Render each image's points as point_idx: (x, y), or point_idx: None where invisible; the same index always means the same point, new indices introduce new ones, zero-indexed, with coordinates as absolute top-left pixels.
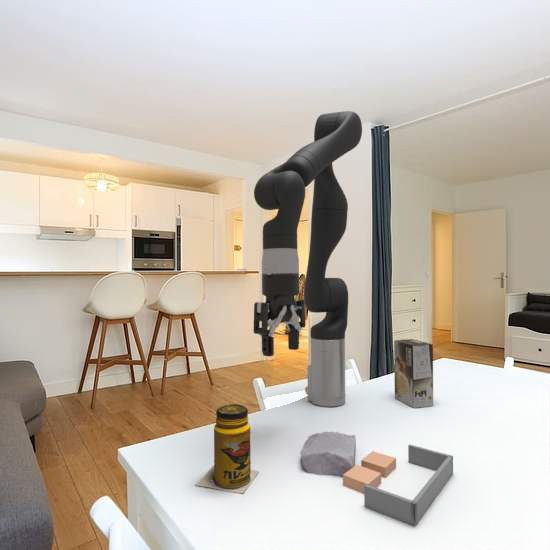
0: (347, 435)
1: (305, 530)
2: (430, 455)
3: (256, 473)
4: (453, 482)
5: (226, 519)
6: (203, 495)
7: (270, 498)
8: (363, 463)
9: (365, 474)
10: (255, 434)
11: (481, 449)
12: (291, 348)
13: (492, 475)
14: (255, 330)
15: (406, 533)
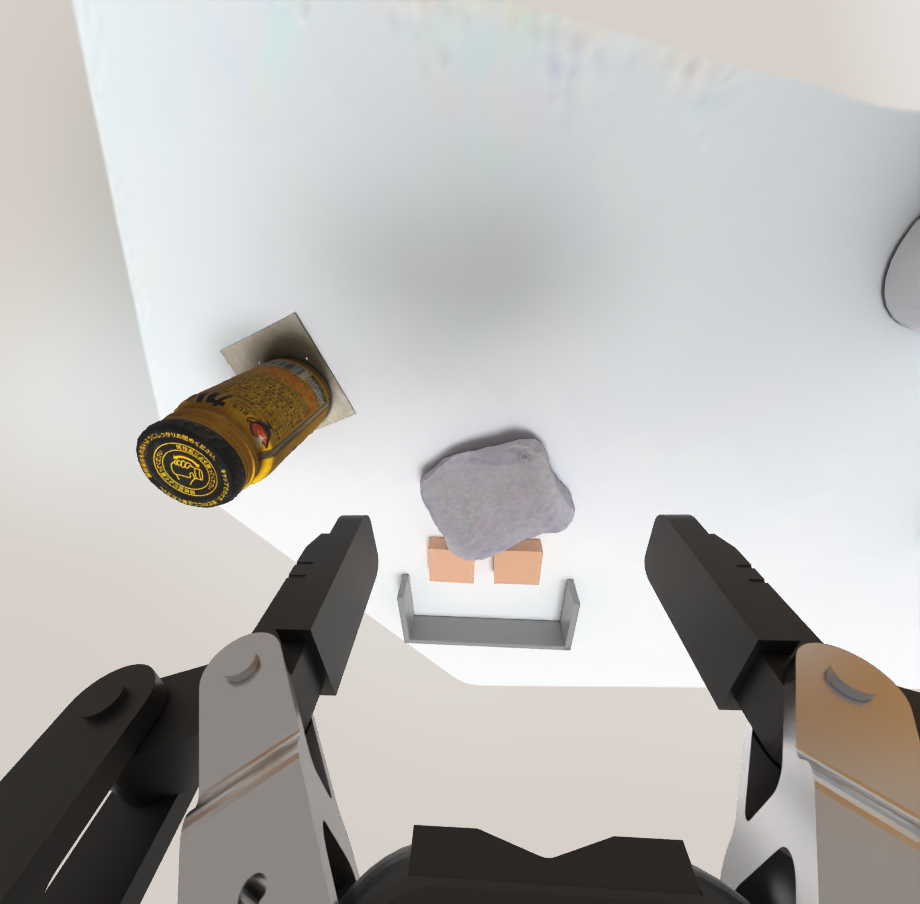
0: (553, 518)
1: None
2: (567, 622)
3: (345, 416)
4: None
5: None
6: None
7: (316, 479)
8: None
9: (453, 569)
10: (502, 251)
11: (679, 638)
12: (657, 534)
13: (588, 653)
14: (85, 723)
15: (391, 615)
